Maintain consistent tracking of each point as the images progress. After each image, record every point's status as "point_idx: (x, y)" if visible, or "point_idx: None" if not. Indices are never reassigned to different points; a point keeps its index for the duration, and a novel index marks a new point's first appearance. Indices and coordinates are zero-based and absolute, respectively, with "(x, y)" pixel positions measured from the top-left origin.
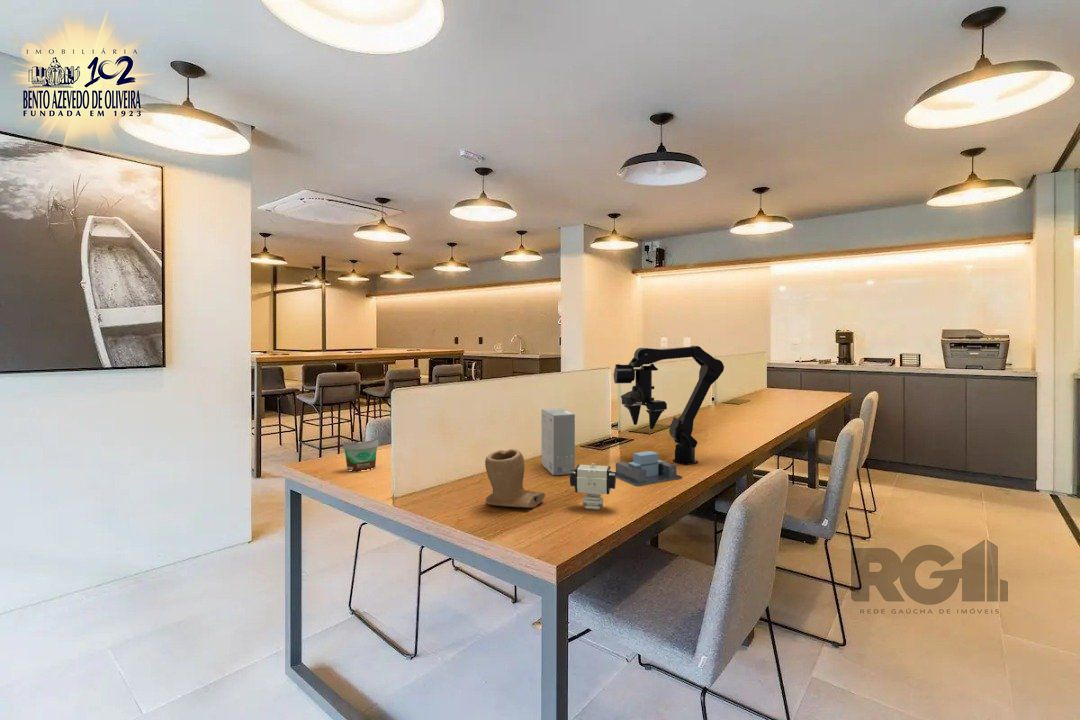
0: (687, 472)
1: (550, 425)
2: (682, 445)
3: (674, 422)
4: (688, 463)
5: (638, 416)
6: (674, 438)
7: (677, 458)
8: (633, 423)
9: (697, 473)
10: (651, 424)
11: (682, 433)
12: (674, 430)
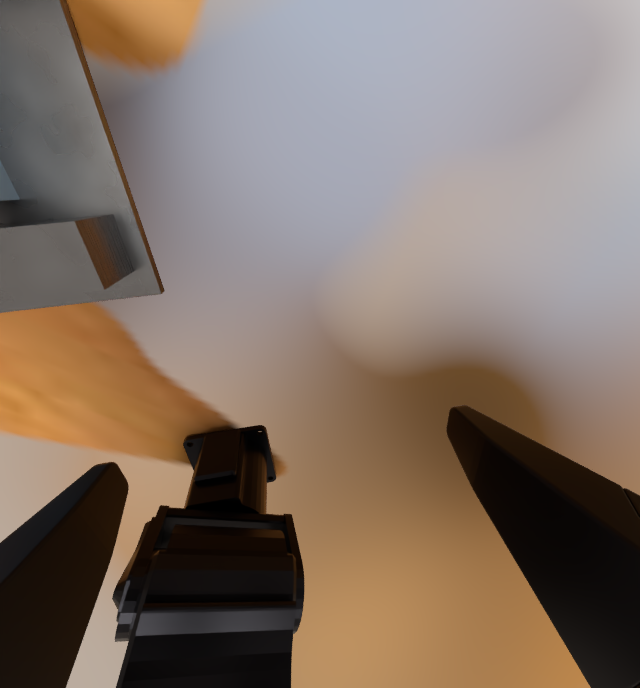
0: (54, 396)
1: None
2: (157, 514)
3: (229, 679)
4: (188, 455)
5: (515, 557)
6: (214, 530)
7: (217, 442)
8: (477, 411)
9: (33, 423)
10: (19, 535)
11: (119, 604)
12: (183, 596)
